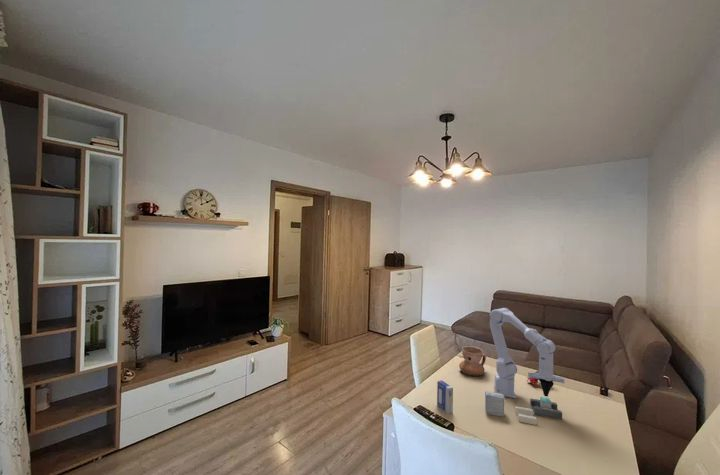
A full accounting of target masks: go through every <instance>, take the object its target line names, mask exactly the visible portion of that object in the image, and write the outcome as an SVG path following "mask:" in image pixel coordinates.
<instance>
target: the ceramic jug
mask: <svg viewBox="0 0 720 475" xmlns="http://www.w3.org/2000/svg"><path fill="white" fill-rule="evenodd" d="M459 358H463V359H464V360H462V361H461V362H460V363H459V365H458V367H459V369H460V371H461V372H462V373H464V374H466V375H469V376H473V377H475V376H476V377H477V376H481V375H483V374H484V373H485V370H486V369H485V367H484V365H485V362H486V361H487V360H486V358H487V357H486V355H485V354H484V350H483V349H481V348H480V347H477V346H470V345H466V346H462V348H461V354H459Z"/></svg>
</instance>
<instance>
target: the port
mask: <svg viewBox="0 0 720 475" xmlns="http://www.w3.org/2000/svg"><path fill="white" fill-rule="evenodd" d="M529 405H530V407H531V408H530V409H532V410H533V416H534V415H535V416H540V417H545V418H551V419H556V420H561V421H562V420H563V412H562V411H561V410H559V409H558V404H557V402H553V401H551V409H549V408H543V407H540V399H538V398H537V399H535V398H529Z"/></svg>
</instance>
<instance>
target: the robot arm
mask: <svg viewBox="0 0 720 475" xmlns="http://www.w3.org/2000/svg"><path fill="white" fill-rule="evenodd" d="M514 314H515V313H514V312H513V311H511V310H510V309H509V308H508V307H502V308H497V309H492V310H491V311H490V312H489V318H490V319H489V328H490V330H491V335H492V338H493V343H494V346H495V350H496V353H497V360H496V363H495V364H496V370H495V371H496V373H497V374H494V385H493V389H494V393H500V394H503V396H504V397H508V398H512V399H517V396H516V393H515V376H516V375H515V374H517V373H518V366H517V365H516V364H515V362H514V359H513V358H512V357H510V354H509V350H508V347H507V343H506V340H505V336H504V332H503V328H502V326H503V324H504V323H510V324H511V325H513V326H514V327H515V328H517V329H518V331H521V333H523V335H524V338H525V339H526V340H528V341H529V342H530V343H531V344H533V345H534V346H535V347H536V349H537V352H538V370H539V373H535V372H527V378H536V379H539V380H538V382H539V383H541V384H540V385H541V388H542V392H543V393H542V394H543V397H546V398H548V397H549V394H550V391H551V389H552V388H553V386H554V384H555V383H561V384H565V380H566V379H565V378H564V377H561V376H557V375H554V352H555V351H556V344H555V343H554V342H553V341H552V340H551V339H547V338H546V337H544V336H543V335H542V334H540V333H539V332H538V330H537V329H535V328H531V327H528V326H527V325H526V324H525V323H523V321H522V320H520V319H519V318H518V317H517V316H516V315H514ZM554 382H555V383H554Z"/></svg>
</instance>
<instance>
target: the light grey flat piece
mask: <svg viewBox="0 0 720 475" xmlns="http://www.w3.org/2000/svg"><path fill="white" fill-rule="evenodd" d="M514 409H515V414H517V421H518V422H520V423H526V424H531V425H537V421H538V420H537V417H536V416H534V412H533V410H532V408H527V407H522V406H515V408H514Z"/></svg>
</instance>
